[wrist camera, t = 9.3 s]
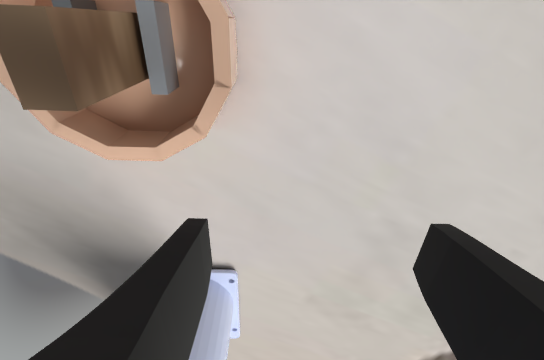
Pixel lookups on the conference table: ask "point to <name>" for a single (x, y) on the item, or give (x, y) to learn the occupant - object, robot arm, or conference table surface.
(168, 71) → the round tan tray
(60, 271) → the conference table surface
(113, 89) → the long tan beam
